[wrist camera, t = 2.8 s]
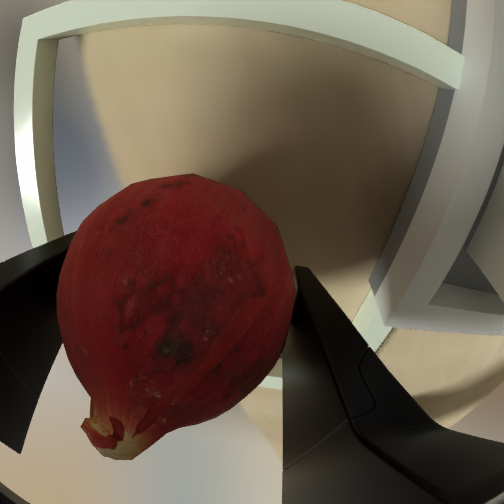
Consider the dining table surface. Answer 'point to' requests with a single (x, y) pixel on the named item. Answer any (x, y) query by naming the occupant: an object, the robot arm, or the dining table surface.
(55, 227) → the pale green square frame
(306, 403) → the robot arm
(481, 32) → the grey divided tray
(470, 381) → the dining table surface
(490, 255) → the cream block
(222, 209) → the onion
